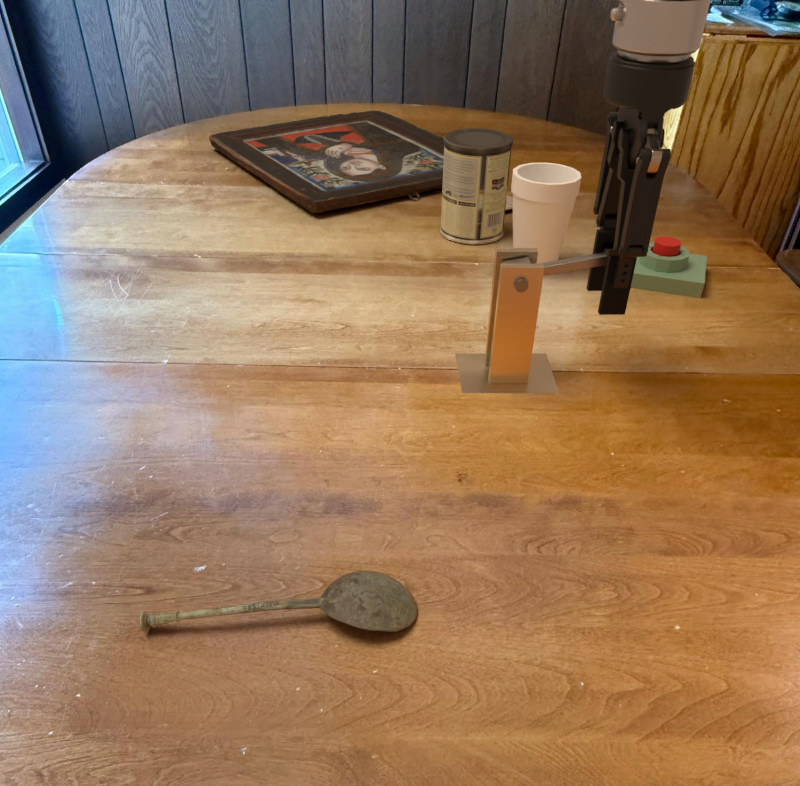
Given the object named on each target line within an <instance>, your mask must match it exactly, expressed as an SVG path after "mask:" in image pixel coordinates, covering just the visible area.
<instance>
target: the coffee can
mask: <svg viewBox="0 0 800 786" xmlns="http://www.w3.org/2000/svg"><path fill="white" fill-rule="evenodd" d="M443 138H444V163H443V186H442V188H441V190H442V191H441V211H440V228H439V233H440V234H441V236H442V237H443V238H444V239H446V240H448V241H450V240H451V242H453V243H458V244H463V245H487V244H490V243H491V244H492V243H494V242H497V241H498V240H500V239H501V238H503V237H504V227H505V219H506V218H505V216H506V211H505V208H506V198H507V196H508V186H509V177H510V166H511V158H512V157H511V156H512V146H513V145H514V138H513V136H511V134H508V133H506V132H503V131H501V130H496V129H490V128H479V127H477V128H475V127H474V128H473V127H471V128H461V129H455V130H452V131H449V132H447V133H445V134H444V136H443Z"/></svg>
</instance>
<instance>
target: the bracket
mask: <svg viewBox="0 0 800 786" xmlns="http://www.w3.org/2000/svg"><path fill="white" fill-rule="evenodd" d="M525 257H529V260H530V262H531V264H503V263H502V262H503V261H508V260H514V259H519V258H525ZM537 257H538V250H537V248H513V247H496V248H495V253H494V261H493V270H492V271H493V272H492V281H491V292H490V301H489V311H488V321H487V333H486V341H485V351H484V353H483V352H481V353H477V352H475V353H471V352H470V353H464V352H463V353H458V352H457V353H454V356H455V361H456V368H457V373H458V378H459V385H460V392H461V394H463V395H464V394H466V395H467V394H469V395H470V394H471V395H472V394H473V395H474V394H479V395H480V394H481V395H482V394H486V395H487V394H495V395H496V394H497V395H498V394H499V395H501V394H504V395H505V394H560V391H559V388H558V384H557V382H556V379H555V376H554V373H553V370H552V367H551V364H550V361H549V359H548V356H547V353H543V352H542V353H541V352H540V353H539V352H538V353H535V352H533V350H534V342H535V335H536V328H537V322H538V314H539V310H540V309H539V308H540V302H541V294H542V288H543V280H544V276H543V275H544V265H543V264H537Z"/></svg>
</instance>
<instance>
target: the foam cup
mask: <svg viewBox="0 0 800 786" xmlns="http://www.w3.org/2000/svg"><path fill="white" fill-rule="evenodd" d="M581 182H582V174H581V171H579V170H577V169H576V168H575V167H572V166H568V165H564V164H560V163H553V162H544V161H543V162H529V163H528V162H527V163H523V164H519V165H517V166H516V167H514V168H512V175H511V185H510V192H511V193H512V197H513V209H512V248H537V250H538V257H537V264H540V263H546V262H551V261H557V260H559V258H560V255H561V251H562V249H563V245H564V241H565V238H566V234H567V231H568V227H569V224H570V221H571V217H572V213H573V211H574V207H575V203H576V200H577V197H578V196H579V194H580V189H581Z"/></svg>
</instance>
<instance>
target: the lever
mask: <svg viewBox="0 0 800 786" xmlns="http://www.w3.org/2000/svg"><path fill="white" fill-rule="evenodd" d="M613 247H614V243H613V242H611V241H607V242H605V243H604V244H603V245H602V247H601V251H602V253H596V254H593V253H592V254H591V253H590V254H585V255H580V256H574V257H568V258H563V259H558V260H557V261H551V262H546V263H540V264H543V265H544V275H543V277H547V276H552V275H557V274H558V275H559V274H564V273H568V272H573V271H579V270H584V269H590V268H591V267H597V266H603V265H607V261H608V256H606V249H613ZM502 263H503V264H531V262H530V260H529V257H525V258H519V259H514V260H508V261H503V262H502Z"/></svg>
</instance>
